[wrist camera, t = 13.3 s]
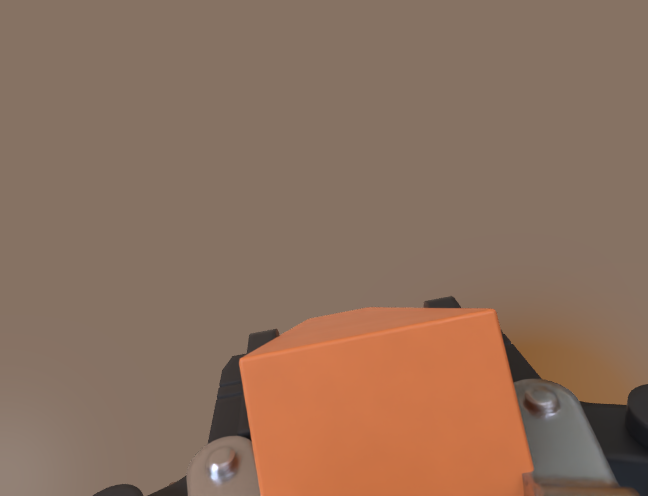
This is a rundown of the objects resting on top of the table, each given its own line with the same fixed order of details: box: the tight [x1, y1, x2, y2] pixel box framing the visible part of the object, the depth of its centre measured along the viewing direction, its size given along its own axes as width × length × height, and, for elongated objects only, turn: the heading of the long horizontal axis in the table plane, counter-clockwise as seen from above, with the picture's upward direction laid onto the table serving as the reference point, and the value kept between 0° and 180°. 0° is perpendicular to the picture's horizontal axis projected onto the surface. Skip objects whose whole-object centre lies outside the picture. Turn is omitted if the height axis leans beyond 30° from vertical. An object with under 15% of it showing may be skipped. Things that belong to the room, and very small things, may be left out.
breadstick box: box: [239, 307, 534, 496], centre depth 17 cm, size 22×4×4 cm, turn 179°
